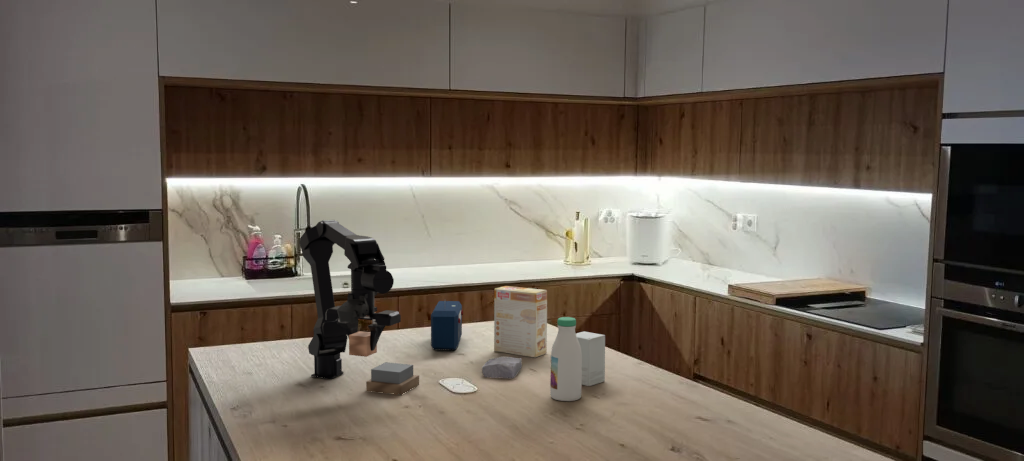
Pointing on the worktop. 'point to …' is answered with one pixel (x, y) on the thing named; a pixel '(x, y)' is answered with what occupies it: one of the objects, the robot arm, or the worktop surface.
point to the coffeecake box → (520, 321)
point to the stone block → (502, 367)
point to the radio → (446, 325)
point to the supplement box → (592, 357)
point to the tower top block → (392, 372)
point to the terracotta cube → (360, 344)
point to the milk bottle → (566, 362)
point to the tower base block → (393, 386)
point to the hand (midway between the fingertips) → (363, 349)
